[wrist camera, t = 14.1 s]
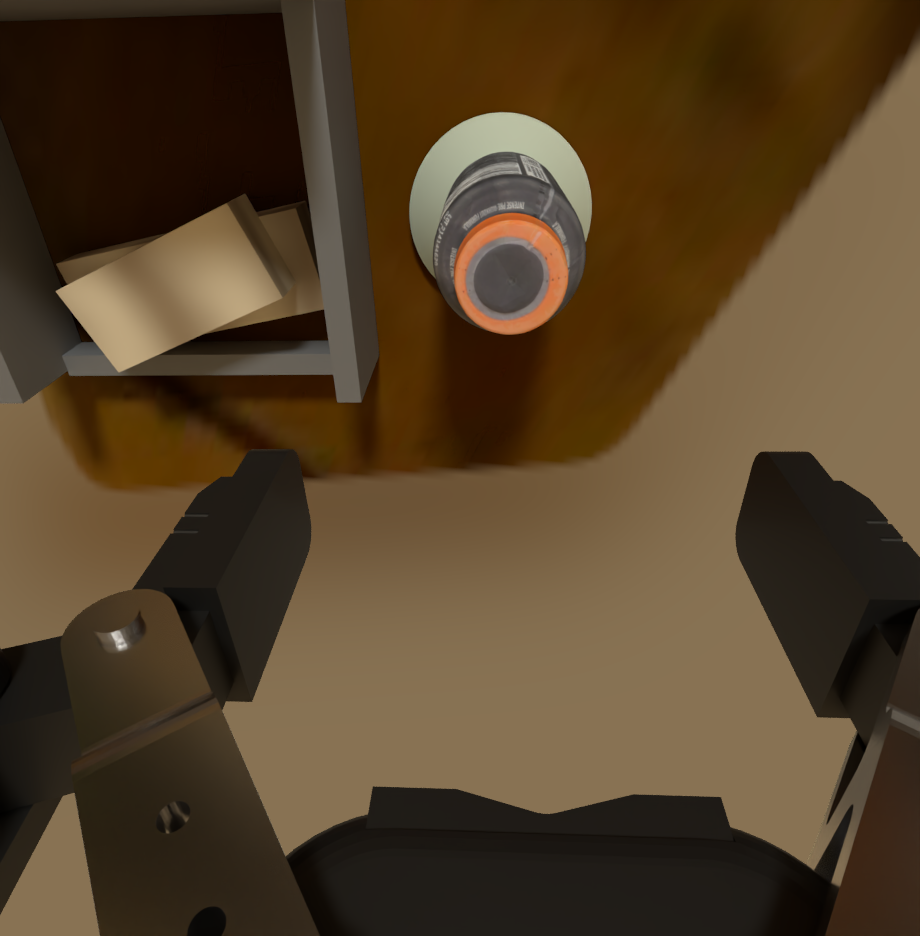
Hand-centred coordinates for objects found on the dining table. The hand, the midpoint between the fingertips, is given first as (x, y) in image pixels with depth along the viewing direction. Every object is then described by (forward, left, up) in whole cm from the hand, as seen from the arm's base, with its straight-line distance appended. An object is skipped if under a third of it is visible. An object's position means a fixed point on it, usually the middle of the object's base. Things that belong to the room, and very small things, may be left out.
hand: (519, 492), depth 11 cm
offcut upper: (+16, +3, -23) cm, 28 cm away
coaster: (0, 0, -24) cm, 24 cm away
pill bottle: (0, 0, -24) cm, 24 cm away
